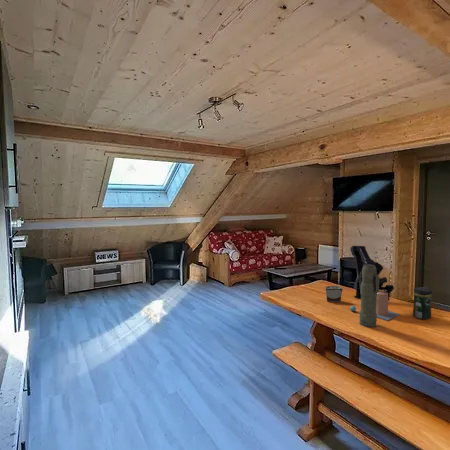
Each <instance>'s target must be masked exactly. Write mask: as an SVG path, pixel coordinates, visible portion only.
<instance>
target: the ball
mask: <svg viewBox="0 0 450 450" xmlns="http://www.w3.org/2000/svg"><path fill="white" fill-rule="evenodd" d="M349 307H350V308H349V309H350V311H351V312H356V311H357V307H356V305H351V306H349Z"/></svg>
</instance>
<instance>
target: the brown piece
mask: <svg viewBox="0 0 450 450" xmlns="http://www.w3.org/2000/svg"><path fill="white" fill-rule="evenodd" d="M388 311H389V301H388V293H387V292H385V291H384V290H379V292H378V293H377V297H376V314H378V315H388Z"/></svg>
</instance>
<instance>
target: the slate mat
mask: <svg viewBox="0 0 450 450" xmlns="http://www.w3.org/2000/svg"><path fill="white" fill-rule="evenodd" d="M399 315H400V316H401V313H398V312H395V311H391V310H388V315H378V314H377V319H380V320H382V321H386V322H388V321H391V320H392V319H395V318H398V317H400V316H399ZM397 316H398V317H397Z"/></svg>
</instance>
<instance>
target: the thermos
mask: <svg viewBox="0 0 450 450" xmlns="http://www.w3.org/2000/svg"><path fill="white" fill-rule="evenodd" d="M379 278H380V275H377V270H376V266H375V265H372V264H365V265H364V266H363V268H362V271H361V272H360V280H359V286H360V294H361V299H360V311H359V325H360V326H362V327H365V328H376V327H377V320H378V318H377V314H376V297H377V293H378V292H379V291H380V290H379Z"/></svg>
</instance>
